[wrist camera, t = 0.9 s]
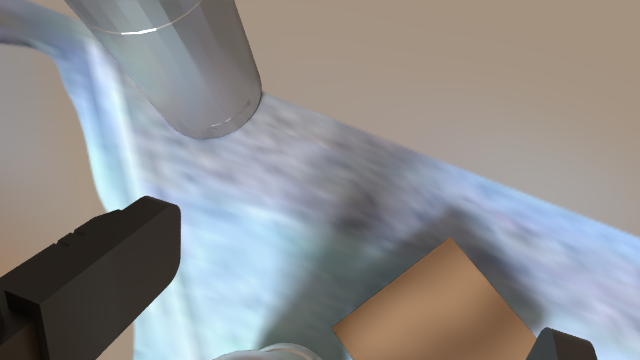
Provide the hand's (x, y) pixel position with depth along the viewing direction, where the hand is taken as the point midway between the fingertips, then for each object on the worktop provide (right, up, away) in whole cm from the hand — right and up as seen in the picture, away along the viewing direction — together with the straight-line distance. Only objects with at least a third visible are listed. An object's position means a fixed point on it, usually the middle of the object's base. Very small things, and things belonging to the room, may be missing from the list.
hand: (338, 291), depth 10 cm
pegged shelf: (+8, -9, +22) cm, 25 cm away
